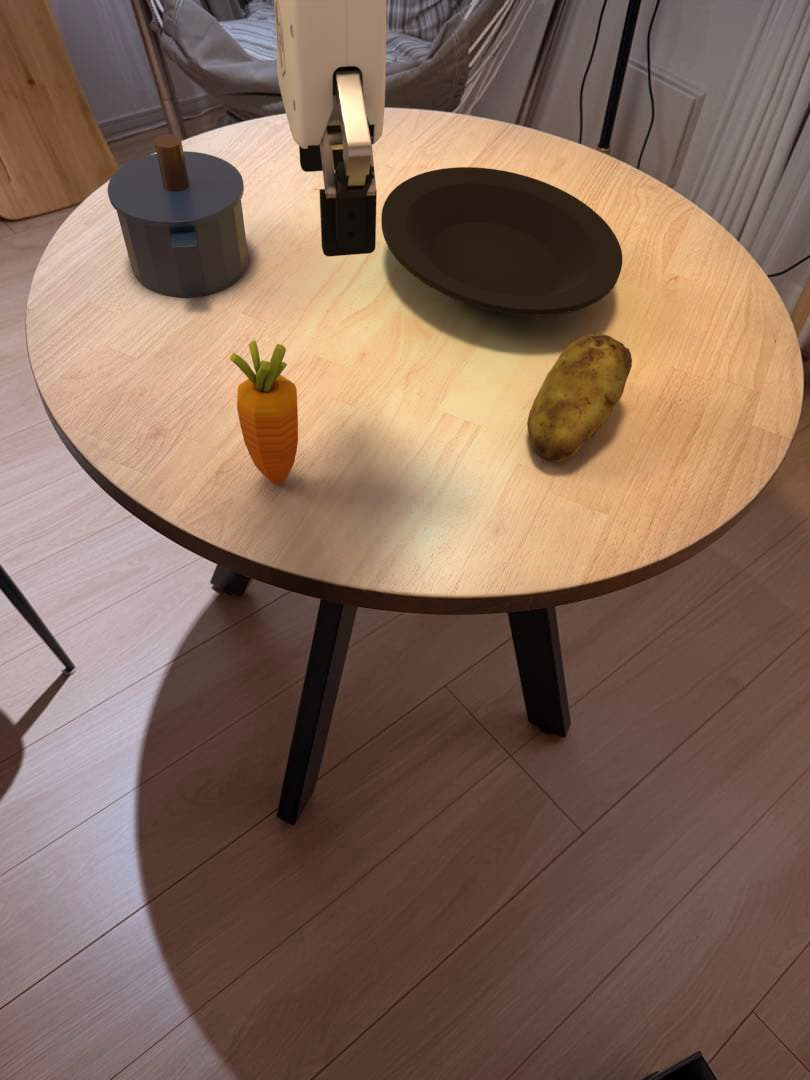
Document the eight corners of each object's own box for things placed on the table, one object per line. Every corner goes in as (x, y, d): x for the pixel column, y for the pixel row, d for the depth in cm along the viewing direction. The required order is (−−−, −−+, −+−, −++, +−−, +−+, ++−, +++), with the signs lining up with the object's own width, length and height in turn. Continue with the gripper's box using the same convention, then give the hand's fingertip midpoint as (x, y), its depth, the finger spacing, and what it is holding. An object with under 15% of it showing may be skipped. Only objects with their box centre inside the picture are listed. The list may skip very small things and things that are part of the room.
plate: (655, 300, 88) (672, 256, 84) (502, 388, 78) (511, 343, 74) (485, 189, 100) (491, 146, 96) (334, 253, 90) (333, 207, 86)
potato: (488, 430, 75) (501, 365, 68) (578, 374, 80) (597, 309, 74) (552, 483, 71) (572, 419, 65) (642, 420, 76) (668, 356, 70)
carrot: (239, 496, 68) (215, 361, 56) (262, 456, 71) (243, 320, 59) (293, 510, 68) (279, 377, 56) (313, 470, 71) (305, 335, 59)
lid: (111, 238, 77) (95, 182, 72) (109, 166, 84) (95, 111, 80) (252, 226, 79) (245, 171, 74) (237, 157, 87) (230, 104, 82)
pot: (135, 319, 82) (115, 245, 75) (130, 222, 92) (112, 150, 85) (257, 306, 84) (248, 234, 77) (239, 213, 94) (230, 142, 87)
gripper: (231, -182, 41) (262, 144, 55) (268, -68, 31) (294, 295, 45) (372, -181, 43) (368, 138, 56) (450, -70, 33) (422, 284, 46)
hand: (335, 208), depth 51 cm, fingers open, 9 cm apart
